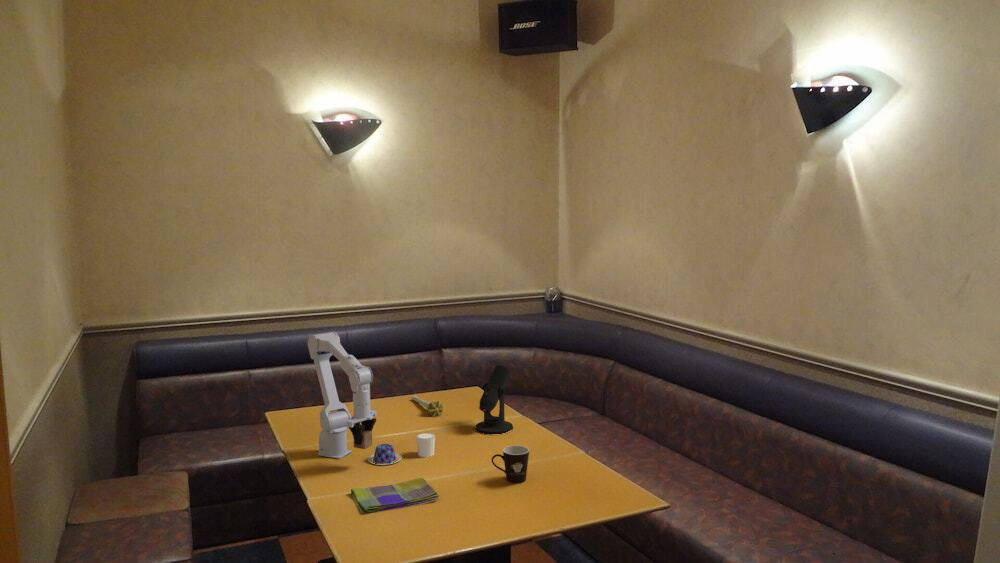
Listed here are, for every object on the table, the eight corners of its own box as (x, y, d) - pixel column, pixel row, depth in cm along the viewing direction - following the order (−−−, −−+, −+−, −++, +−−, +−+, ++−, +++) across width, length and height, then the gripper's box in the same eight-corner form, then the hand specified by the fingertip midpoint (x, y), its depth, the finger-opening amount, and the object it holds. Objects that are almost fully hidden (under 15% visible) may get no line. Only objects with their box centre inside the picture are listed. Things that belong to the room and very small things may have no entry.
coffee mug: (532, 476, 240) (532, 447, 239) (524, 486, 232) (524, 456, 231) (499, 472, 244) (499, 443, 243) (490, 481, 236) (490, 451, 235)
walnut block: (353, 447, 247) (353, 433, 247) (361, 443, 252) (361, 429, 251) (364, 449, 246) (364, 434, 245) (372, 445, 250) (372, 431, 249)
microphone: (521, 426, 293) (521, 365, 290) (498, 438, 278) (498, 374, 275) (490, 420, 301) (490, 360, 298) (466, 431, 286) (466, 369, 283)
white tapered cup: (432, 458, 257) (432, 439, 256) (414, 457, 258) (413, 438, 257) (438, 451, 264) (437, 433, 263) (419, 450, 265) (419, 432, 264)
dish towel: (349, 494, 228) (349, 485, 228) (424, 482, 237) (424, 474, 237) (361, 517, 212) (361, 508, 212) (441, 503, 221) (441, 494, 221)
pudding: (377, 469, 248) (376, 454, 247) (361, 459, 258) (361, 444, 257) (408, 461, 255) (407, 447, 254) (392, 452, 265) (391, 438, 264)
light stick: (421, 390, 332) (446, 401, 305) (421, 403, 332) (446, 417, 305) (406, 391, 329) (430, 404, 302) (407, 405, 329) (430, 419, 302)
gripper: (359, 410, 239) (360, 450, 240) (383, 398, 252) (384, 436, 253) (341, 407, 242) (342, 447, 243) (366, 396, 255) (367, 434, 256)
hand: (362, 441), depth 248 cm, fingers closed on walnut block, 4 cm apart
